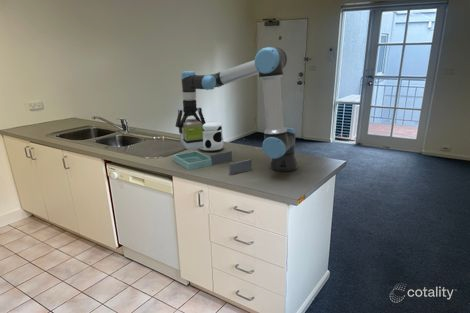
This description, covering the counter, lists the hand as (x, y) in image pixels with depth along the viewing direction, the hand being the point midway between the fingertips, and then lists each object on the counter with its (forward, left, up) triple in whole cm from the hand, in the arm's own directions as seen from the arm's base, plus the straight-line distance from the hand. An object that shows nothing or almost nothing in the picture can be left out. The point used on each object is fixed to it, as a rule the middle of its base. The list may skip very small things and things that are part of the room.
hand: (191, 137), depth 188 cm
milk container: (+18, -23, -16) cm, 33 cm away
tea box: (0, 0, -5) cm, 5 cm away
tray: (0, 0, -16) cm, 16 cm away
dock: (-20, -14, -16) cm, 29 cm away
